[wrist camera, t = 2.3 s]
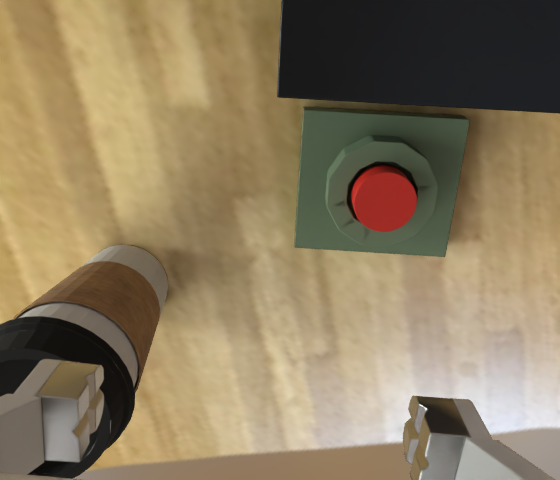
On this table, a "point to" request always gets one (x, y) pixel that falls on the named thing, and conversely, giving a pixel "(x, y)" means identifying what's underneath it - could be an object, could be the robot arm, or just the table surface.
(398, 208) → the stop button
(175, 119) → the table surface
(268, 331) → the table surface
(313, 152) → the control block
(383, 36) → the dark drawer cabinet
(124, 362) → the coffee cup
